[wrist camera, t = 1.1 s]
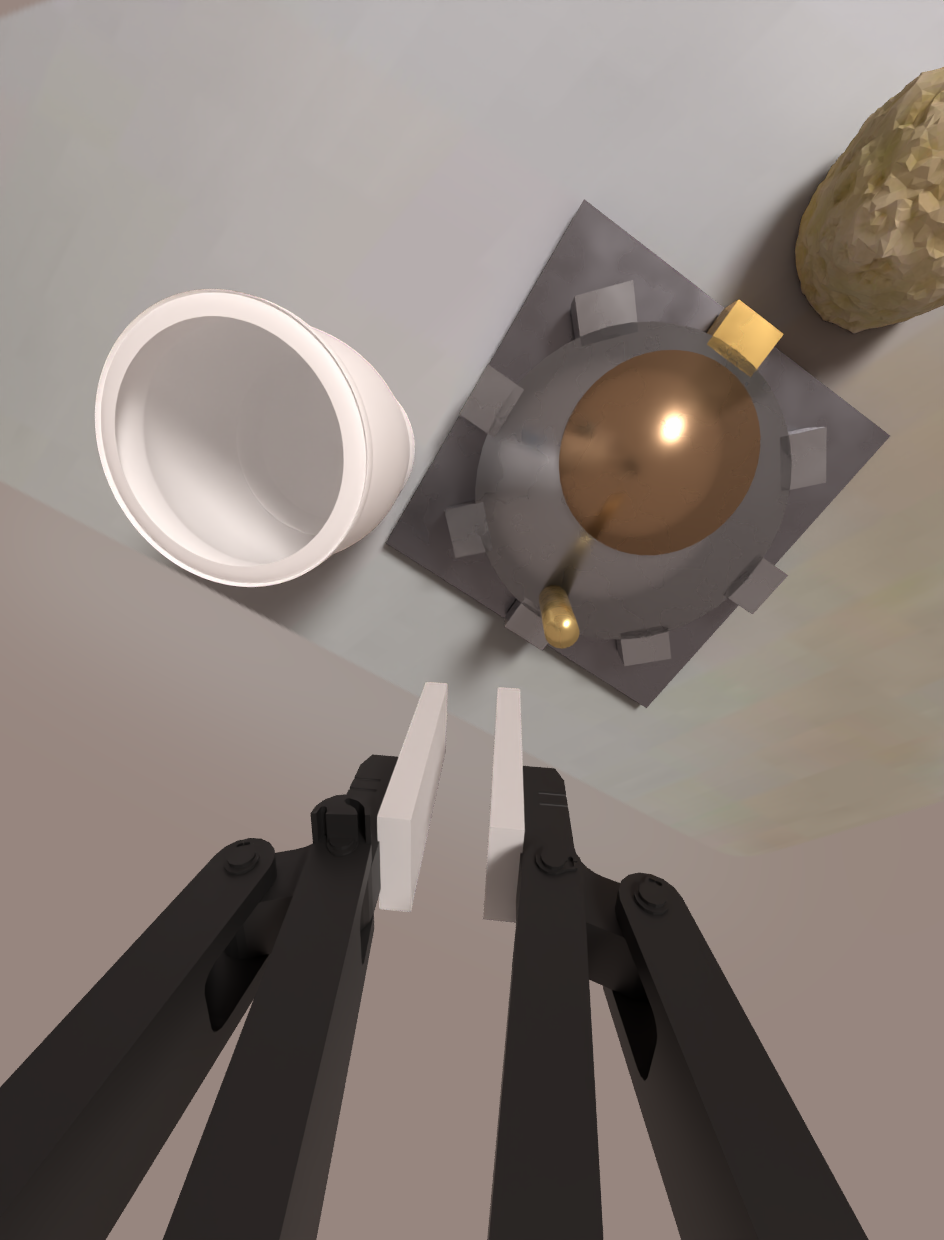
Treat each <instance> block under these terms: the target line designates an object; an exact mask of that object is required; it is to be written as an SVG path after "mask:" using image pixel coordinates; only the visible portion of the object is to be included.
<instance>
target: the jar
mask: <svg viewBox="0 0 944 1240" xmlns="http://www.w3.org/2000/svg"><path fill="white" fill-rule="evenodd" d="M95 429H96V439H97V445H98V450H99V455H100V459H101V463H102V466H103V469H104V472H105V475H106V478H107V480H108V483H109V485H110V487H111V490H112V492H113V494H114V496H115V498H116V499H117V501H118V503H119V505H120V507H121V508H122V510H123V511H124V513H125V514H126V516H127V517H128V519H129V520H130V521H131V523H132V524H133V525H134V527H135V528H136V529H137V530H138V531H139V533H140V534H141V535H142V536H143V537H144V538H145V539H146V540H147V541H148V542H149V543H150V544H151V545H152V546H153V547H154V548H155V549H156V550H158V551H159V552H160V553H161V554H162V555H164V556H165V557H166V558H168V559H169V560H171V561H172V562H174V563H175V564H177V565H178V566H180V567H182V568H183V569H185V570H187V571H189V572H191V573H193V574H195V575H197V576H200V577H202V578H205V579H208V580H211V581H214V582H218V583H222V584H226V585H232V586H241V587H260V586H269V585H274V584H279V583H283V582H286V581H289V580H292V579H294V578H297V577H299V576H301V575H303V574H305V573H307V572H308V571H310V570H312V569H313V568H315V567H316V566H318V565H320V564H321V563H323V562H324V561H325V560H327V559H328V558H329V557H330V556H331V555H332V554H335V553H337V552H340V551H342V550H344V549H346V548H348V547H350V546H351V545H353V544H355V543H356V542H358V541H359V540H361V539H362V538H364V537H365V536H366V535H367V534H369V533H370V532H371V531H372V530H373V529H374V528H375V527H376V526H377V525H378V524H379V523H380V522H381V521H382V520H383V518H384V517H385V516H386V515H387V513H388V512H389V511H390V509H391V508H392V506H393V504H394V503H395V501H396V499H397V497H398V495H399V493H400V492H401V490H402V489H403V487H404V486H405V484H406V482H407V481H408V478H409V476H410V474H411V471H412V467H413V463H414V456H415V442H414V435H413V430H412V427H411V424H410V421H409V419H408V416H407V414H406V412H405V411H404V409H403V407H402V406H401V404H400V403H399V402H398V401H397V399H396V398H395V397H394V395H393V393H392V392H391V390H390V388H389V387H388V385H387V384H386V382H385V381H384V380H383V378H382V377H381V376H380V374H379V373H378V372H377V371H376V370H375V368H374V367H373V366H372V365H371V364H370V363H369V362H368V361H367V360H366V359H365V358H363V357H362V356H361V355H360V354H359V353H358V352H356V351H355V350H354V349H352V348H351V347H350V346H348V345H347V344H345V343H344V342H342V341H341V340H339V339H337V338H335V337H334V336H332V335H330V334H328V333H326V332H324V331H321V330H319V329H317V328H314V327H311V326H309V325H308V324H307V323H306V322H304V321H303V320H302V319H300V318H299V317H297V316H296V315H294V314H293V313H291V312H290V311H288V310H286V309H284V308H282V307H280V306H278V305H276V304H274V303H272V302H270V301H267V300H265V299H262V298H259V297H255V296H252V295H249V294H245V293H241V292H237V291H231V290H223V289H201V290H193V291H187V292H183V293H179V294H176V295H173V296H170V297H168V298H166V299H163V300H161V301H159V302H157V303H156V304H154V305H152V306H151V307H149V308H148V309H146V310H145V311H143V312H142V313H141V314H140V315H138V316H137V317H136V318H135V319H134V320H133V321H132V322H131V323H130V324H129V325H128V326H127V327H126V328H125V330H124V331H123V332H122V333H121V335H120V336H119V338H118V339H117V341H116V342H115V344H114V345H113V347H112V349H111V351H110V353H109V355H108V357H107V359H106V362H105V364H104V367H103V370H102V373H101V376H100V380H99V384H98V389H97V395H96V404H95Z"/></svg>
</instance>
